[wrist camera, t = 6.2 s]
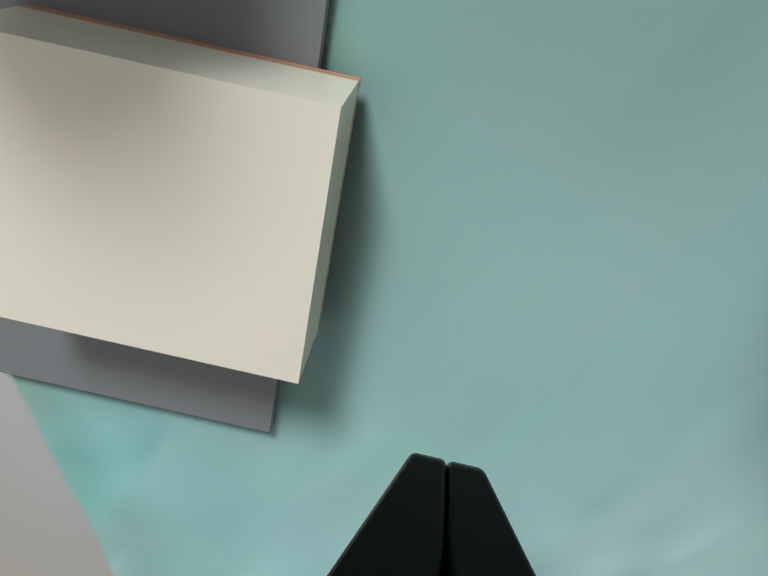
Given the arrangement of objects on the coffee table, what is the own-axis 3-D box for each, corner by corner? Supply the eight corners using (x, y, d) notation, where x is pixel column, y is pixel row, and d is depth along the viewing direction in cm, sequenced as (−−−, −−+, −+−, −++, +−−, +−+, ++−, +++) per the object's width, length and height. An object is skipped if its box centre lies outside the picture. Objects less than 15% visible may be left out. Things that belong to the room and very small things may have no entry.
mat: (351, -156, 15) (347, -158, 15) (272, 423, 25) (269, 432, 24) (-91, -252, 16) (-107, -257, 15) (-6, 360, 25) (-14, 368, 24)
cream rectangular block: (340, 107, 15) (-51, 20, 15) (298, 383, 19) (-11, 314, 19) (360, 77, 18) (26, 4, 18) (319, 326, 22) (47, 265, 22)
